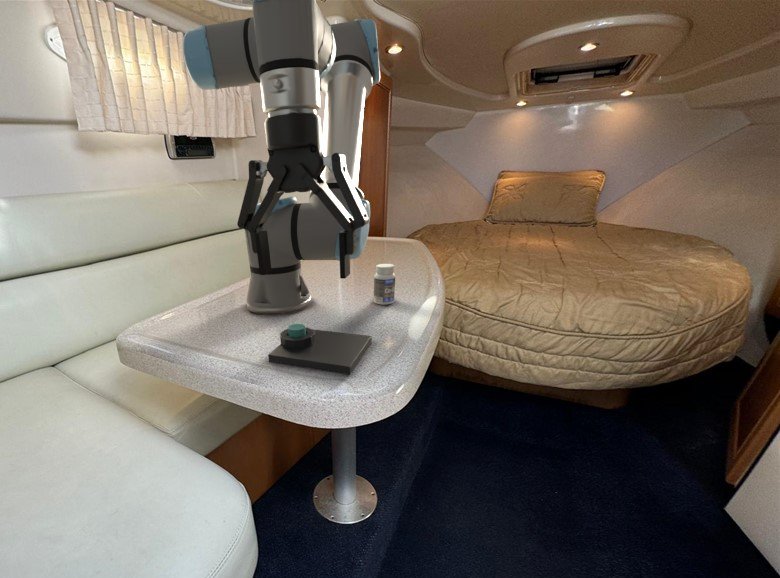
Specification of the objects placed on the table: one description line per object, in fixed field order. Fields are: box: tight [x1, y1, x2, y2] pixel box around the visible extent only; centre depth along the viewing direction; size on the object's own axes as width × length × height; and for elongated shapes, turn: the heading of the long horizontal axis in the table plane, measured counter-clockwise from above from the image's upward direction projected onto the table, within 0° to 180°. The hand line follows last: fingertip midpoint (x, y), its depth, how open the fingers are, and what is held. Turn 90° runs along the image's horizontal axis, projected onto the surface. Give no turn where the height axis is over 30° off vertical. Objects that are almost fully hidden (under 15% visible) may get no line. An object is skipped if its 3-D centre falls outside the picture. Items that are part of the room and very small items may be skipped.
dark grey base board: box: [267, 326, 373, 376], centre depth 61 cm, size 14×12×3 cm
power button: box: [287, 323, 306, 338], centre depth 62 cm, size 3×3×2 cm
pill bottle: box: [373, 263, 396, 306], centre depth 82 cm, size 5×5×8 cm
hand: (303, 274), depth 57 cm, fingers open, 13 cm apart
